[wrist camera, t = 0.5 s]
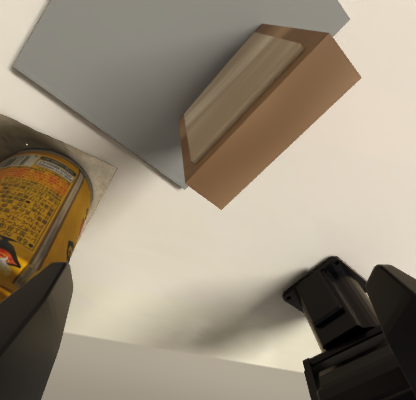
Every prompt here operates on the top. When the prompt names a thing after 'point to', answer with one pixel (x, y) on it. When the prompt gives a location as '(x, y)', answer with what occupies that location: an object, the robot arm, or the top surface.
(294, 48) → the wooden block
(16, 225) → the condiment
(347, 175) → the top surface
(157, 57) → the mat
